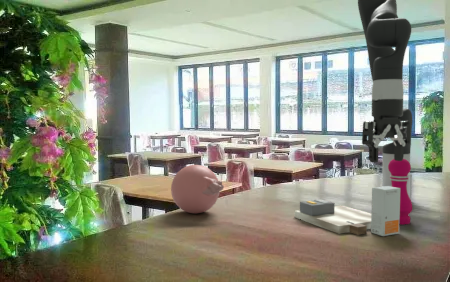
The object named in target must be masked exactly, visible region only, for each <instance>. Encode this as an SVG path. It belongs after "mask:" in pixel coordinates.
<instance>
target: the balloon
mask: <svg viewBox="0 0 450 282" xmlns="http://www.w3.org/2000/svg"><path fill="white" fill-rule="evenodd" d="M170 189H171V190H170V193H171V198H172V200H173V202H174V204H176V206H177V207H178V208H179V209H180V210H182V211H184V212H186V213H189V214H201V213H204V212H206V211H208V210H210V209H211V208H213V206H214V205H215V204H216V202H217V201H218V199H219V195H220V192H221V191H222V190H224V185H223V181H222V180H219V179H218V177H217V175H216V174H215V172H213V171H212V169H210V168H209V167H207V166H204V165H200V164H190V165H187V166H185V167H182V168H181V169H180V170H178V171H177V173H175V175H174V177H173V179H172V182H171V188H170Z"/></svg>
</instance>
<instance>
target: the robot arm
mask: <svg viewBox="0 0 450 282" xmlns="http://www.w3.org/2000/svg"><path fill="white" fill-rule="evenodd" d="M397 4H398V3H397V0H357V6H358V13H359V17H360V22H361V25H362V30H363V34H364V38H365V39H364V40H365V42H366V48H367V55H368V56H367V57H368V63H369V64H368V65H369V69H370V75H371V79H372V87H371V116H372V117H373V120H365V121H363V122H362V135H361V136H362V138H361V144H362V145H363V146H367V147H368V161H369V162H370V163H378V162H379V145H380V143H381V142H382V141H384V139H389V140H391V141H392V142H389V143H386V144H384V145H383V146H382V169H381V171H382V174H381V175H382V177H381V179H382V181H381V187H383V186H391V187H392V182H391V180H390V175H391V173H390V171H389V169H388V165H389V163H390V161H391V160H393V159H394V160H395V161H402V160H403V159H406V160H407V161H408V162H409V163H410V164H411V148H412V147H411V146H412V132H413V131H412V130H413V114H412V113H413V112H412V111H411V109H410V108H404V83H403V79H404V78H403V75H404V73H403V69H404V60H405V55H406V51H407V48H408V44H409V41H410V39H411V35H412V25H411V23H410V21H409V20H408V19H407V18H405V17H399V16H398V5H397ZM394 48H395V49H394ZM408 176H409V177H408V179H409V180H408V181H407V193H408V196H409V198H410V200H411V201H412V188H413V186H412V185H413V183H412V181H413V180H412V178H413V175H412V174H411V171H410V172H409V173H408Z"/></svg>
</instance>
